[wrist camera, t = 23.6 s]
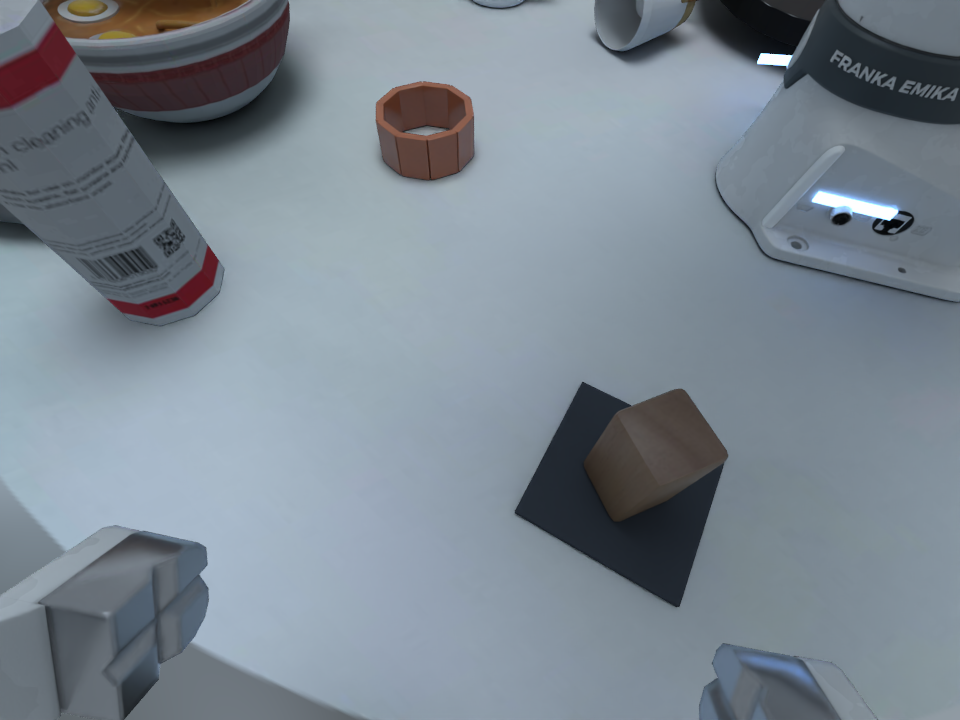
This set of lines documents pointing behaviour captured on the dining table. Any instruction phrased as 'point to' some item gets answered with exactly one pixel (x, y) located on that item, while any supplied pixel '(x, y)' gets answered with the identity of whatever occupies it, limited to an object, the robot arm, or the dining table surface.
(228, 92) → the bowl
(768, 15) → the disc
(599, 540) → the mat
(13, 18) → the spray bottle
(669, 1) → the pendant light
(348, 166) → the dining table surface
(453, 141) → the holder
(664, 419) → the wooden block
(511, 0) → the mug
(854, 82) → the robot arm
